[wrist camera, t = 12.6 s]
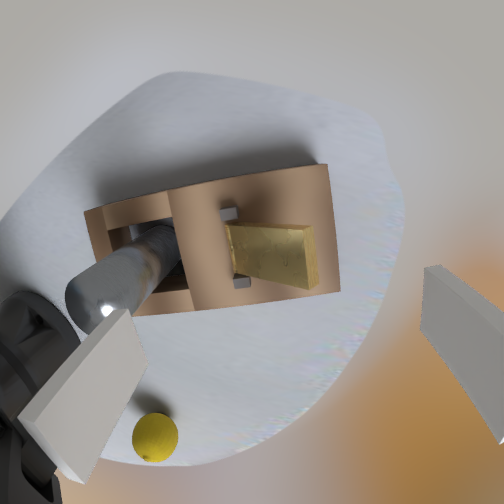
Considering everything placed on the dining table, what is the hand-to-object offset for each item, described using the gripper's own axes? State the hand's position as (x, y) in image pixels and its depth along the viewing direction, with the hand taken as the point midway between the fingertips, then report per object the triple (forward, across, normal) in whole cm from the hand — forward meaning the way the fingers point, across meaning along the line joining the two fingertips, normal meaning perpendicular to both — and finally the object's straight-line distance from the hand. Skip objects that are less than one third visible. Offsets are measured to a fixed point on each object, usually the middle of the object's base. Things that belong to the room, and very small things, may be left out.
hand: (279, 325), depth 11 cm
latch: (+10, 0, 0) cm, 10 cm away
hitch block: (+16, -5, 0) cm, 17 cm away
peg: (+16, -10, 0) cm, 19 cm away
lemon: (+16, -17, -22) cm, 33 cm away
